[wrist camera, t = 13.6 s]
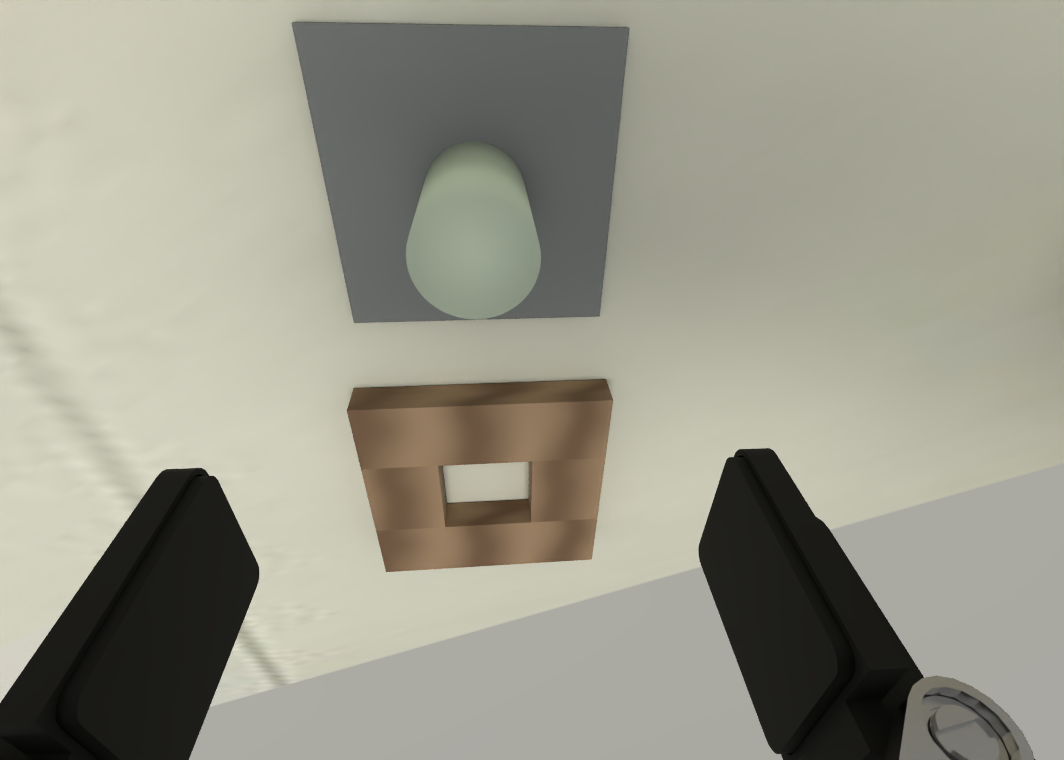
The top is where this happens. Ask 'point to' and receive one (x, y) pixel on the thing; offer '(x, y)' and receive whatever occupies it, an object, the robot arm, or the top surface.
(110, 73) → the top surface
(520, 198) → the sage peg
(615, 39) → the rubber pad
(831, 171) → the top surface
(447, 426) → the pocket block
